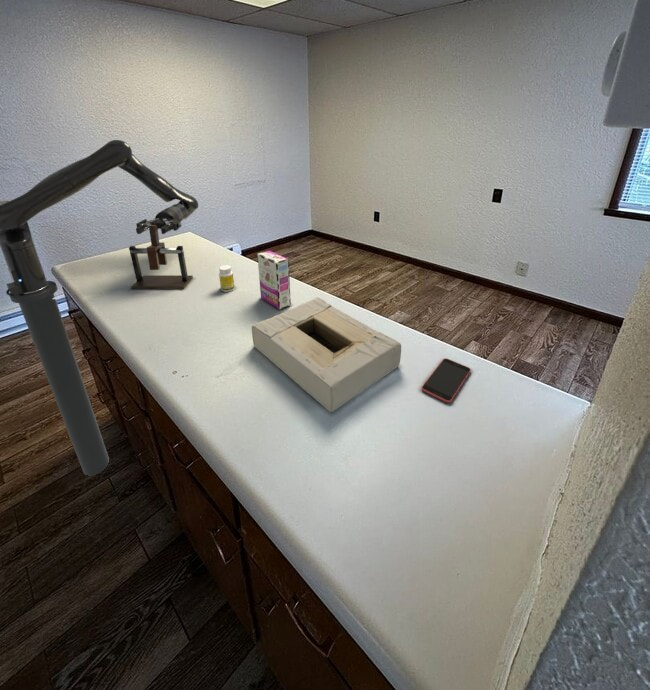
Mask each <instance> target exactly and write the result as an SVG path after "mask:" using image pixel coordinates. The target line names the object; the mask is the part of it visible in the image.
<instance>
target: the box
mask: <svg viewBox="0 0 650 690" xmlns="http://www.w3.org/2000/svg"><path fill="white" fill-rule="evenodd" d="M251 335H252V337H251V338H252V343H253V346H254V347H255V348H256V350H257V351H259V353H261V354H263V355H264V357H266V358H267V359H268V360H269V361H270V362H272V363H273V364H274V365H275V366H276V367H277V368H279V370H281V371H282V372H283V373H284V374H286V375H287V376H288V377H289V378H290V379H291V380H293V381H294V383H296V384H297V385H298V386H299V387H301V388H302V389H303V390H304V391H305V392H306V393H308V394H309V395H310V396H311V397H312V398H313V399H314V400H316V401H317V402H318V404H320V405H321V406H323V408H325V409H326V410H327V411H328V412H329V413H333V412H335V411H336V410H337V409H339V408H341V407H342V406H343V405H344V404H346V403H348V402H349V401H351V400H352V399H354V398H355V397H356V396H358V395H359V394H360V393H362V392H364V391H366V389H368V388H369V387H371V386H372V385H373V384H375V383H376V382H378V381H380V380H381V379H382V378H384V377H385V376H387V375H388V374H390V373H391V372H392V371H393V370H395V369H397V368H398V367H399V366H400V364H401V357H402V344H401V342H399V341H398V340H396V339H395V338H393V337H390V336H388V335H385V334H384V333H383V332H381V331H378V330H375V328H374V329H373V328H372V327H370V326H368V325H367V324H365V323H364V322H362V321H359V320H358V319H356V318H354V317H352V316H350V315H348V314H347V313H345V312H343V311H342V310H340V309H338V308H337V307H335V306H333V305H331V304H330V303H328V302H326V300H324V299H323V298H321V297H314V298H313V299H311V300H309V301H307V302H304V303H301V304H300V305H297V306H295V307H293V308H290V309H288V310H286V311H283V312H281V313H279V314H276V315H274V316H272V317H269V318H268V319H264V320H262V321H260V322H257V323H254V324H252V325H251Z"/></svg>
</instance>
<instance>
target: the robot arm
mask: <svg viewBox="0 0 650 690" xmlns="http://www.w3.org/2000/svg"><path fill="white" fill-rule="evenodd" d="M117 167H118V168H119V169H121V170H123V171H125V172H126V173H128V174H130V175H131V176H132V177H134V178H135V179H136V180H137V181H139V182H140V183H141V184H143V185H144V186H145V187H146V188H148V189H149V190H150V191H151V192H152V193H154V194H155V195H156V196H157V197H159V198H160V199H161V200H162V201H164V202H166V203H170V202H172V201H174V200H178V202H177V203H174V204H173V205H171V206H168V207H166V208H164V209H162V210H161V211H159V212H157V214H156V215H155V217H154V218H153V219H151V220H148V219H147V218H144V219H142V220H140V221H139V222H137V223H135V225H136V228H135V231H136V232H135V233H136V234H137V235H141V234H142V233H144V232H146V231H149V226H150V225H157V229H158V230H160V232H161V235H165V234H166V233H168V232H171V231H175V232H176V231H179V229H180V228H181V227H182V222H183V221H185V220H187V219H188V218H189V217H190V216H191V215H192V214H194V212H196V210H198V208H199V201H198V200H197V199H196V198H195V197H194V196H192V195H190V194H189V193H186V192H184V191H182V190H180V189H178V188H177V187H175V186H174V185H173V184H171V183H170V182H169V181H167V180H166V179H165V178H164V177H163V176H161V175H159V174H157V173H156V172H155V171H153V170H152V169H150V168H149V167H148V166H146V165H145V164H143V163H142V162H141V161H140V160H139V159H138V158H137V157H136V156H135V155H134V154H133V150H132V148H131V146H130V145H129V144H128V143H127V142H125V141H124V140H120V139H112V140H110V141H108V142H107V143H106V144H104V145H103V146H101V147H100V148H99V149H97V150H96V151H94V152H93V153H91V154H90V155H88V156H85V157H83V158H82V159H81V158H80V159H79V160H77V161H74V162H72V163H69V164H68V165H65V166H63V167H62V168H59V169H58V170H56V171H54V172H53V173H51V174H49V175H47V176H46V177H44V178H43V179H42V180H40V181H39V182H38V183H37V184H35V185H34V186H33V187H31V188H30V189H29V190H28V191H26V192H25V193H23V194H21V195H19V196H17V197H15V198H13V199H11V200H0V250H1V253H2V255H3V258H4V261H5V263H6V266H7V272H8V273H9V276H10V279H11V282H8V283H5V284H6V288H7V290H6V291H5V294H6V295H7V296H9V295H10V296H14V295H15V294H17V293H18V294H19V296H22V295H28V294H34V293H37V292H40V291H42V290H44V289H46V288H47V287H48V286H49V285H48V283H47V281H48V279H47V277H46V275H45V272H44V269H43V266H42V263H41V260H40V257H39V254H38V251H37V248H36V246H35V245H36V244H35V242H34V240H33V235H32V231H31V228H30V226H29V223H28V221H30V220H31V219H33V218H34V217H35V216H37V215H38V214H40V213H41V212H43V211H45V210H46V209H50V208H51V207H53V206H55V205H57V204H59V203H61V202H63V201H64V200H66V199H69V198H70V197H73V196H74V195H75V194H78V193H79V192H80V191H83V190H84V189H85V188H87V187H88V186H89V185H90V184H92V183H93V182H94V181H95V180H97V179H98V178H99V177H100V176H102V175H104V174H105V173H107V172H110V171H111V170H113V169H115V168H117ZM10 293H11V294H10ZM10 296H9V297H10Z"/></svg>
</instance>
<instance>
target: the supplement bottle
mask: <svg viewBox="0 0 650 690" xmlns="http://www.w3.org/2000/svg"><path fill="white" fill-rule="evenodd" d="M218 269H219V273H218V277H219V278H218V279H219V285H220V286H219V287H220V291H221V292H225V293H226V292H227V293H228V292H232V291H233V290H235V280H234V279H235V278H234V272H233V271H232V266H231V265H230V264H229V265H227V264H225V265H221V266H219V267H218Z"/></svg>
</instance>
